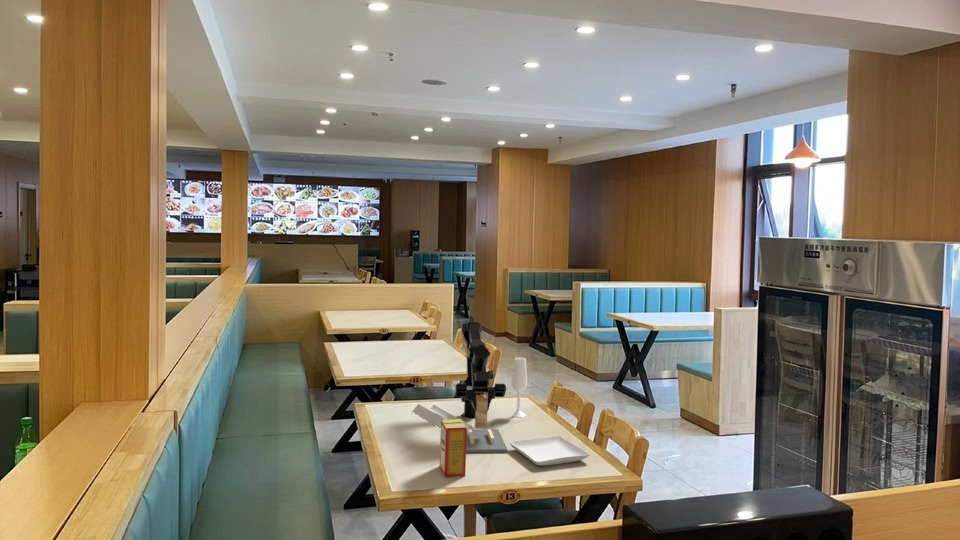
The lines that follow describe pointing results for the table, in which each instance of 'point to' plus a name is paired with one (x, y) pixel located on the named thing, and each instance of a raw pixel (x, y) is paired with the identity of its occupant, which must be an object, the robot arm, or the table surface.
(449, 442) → the baking soda box
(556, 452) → the salad plate
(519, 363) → the champagne flute
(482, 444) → the groove board
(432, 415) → the crown molding
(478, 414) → the wooden board
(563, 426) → the table surface
